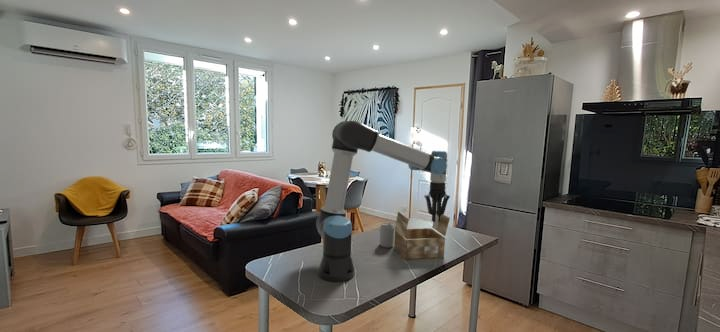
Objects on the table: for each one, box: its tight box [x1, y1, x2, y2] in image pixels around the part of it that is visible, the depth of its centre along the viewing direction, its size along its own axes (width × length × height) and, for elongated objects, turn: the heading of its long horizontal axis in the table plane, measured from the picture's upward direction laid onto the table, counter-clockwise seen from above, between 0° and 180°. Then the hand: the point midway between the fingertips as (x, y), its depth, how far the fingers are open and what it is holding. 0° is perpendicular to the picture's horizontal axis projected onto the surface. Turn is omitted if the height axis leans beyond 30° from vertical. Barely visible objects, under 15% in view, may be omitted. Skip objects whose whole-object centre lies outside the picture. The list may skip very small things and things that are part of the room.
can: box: [379, 221, 395, 248], centre depth 169 cm, size 8×8×12 cm
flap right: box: [431, 210, 451, 237], centre depth 162 cm, size 9×14×1 cm
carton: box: [393, 227, 446, 261], centre depth 160 cm, size 20×17×10 cm
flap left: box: [394, 211, 410, 238], centre depth 157 cm, size 9×14×1 cm
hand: (435, 227), depth 162 cm, fingers closed
